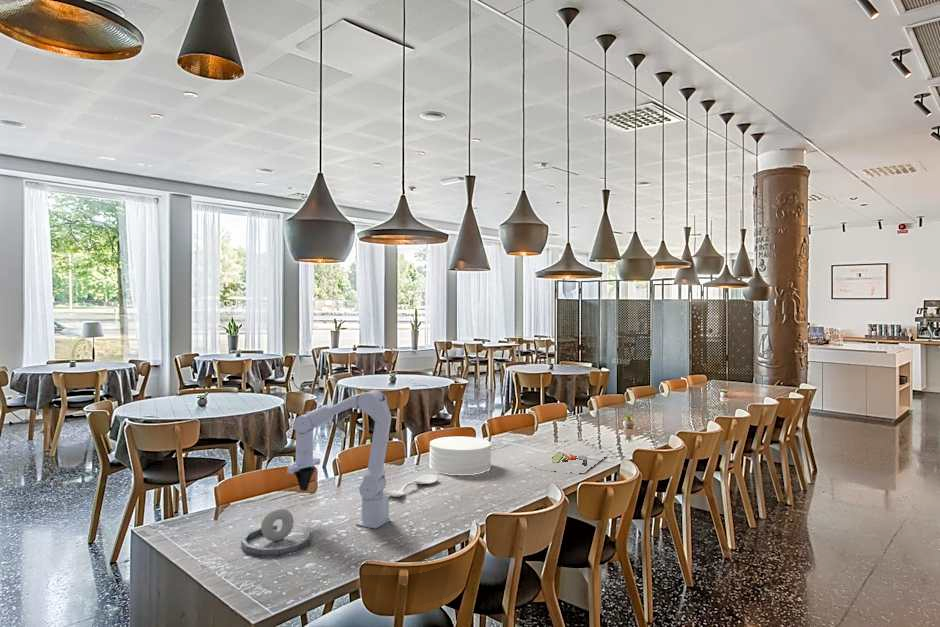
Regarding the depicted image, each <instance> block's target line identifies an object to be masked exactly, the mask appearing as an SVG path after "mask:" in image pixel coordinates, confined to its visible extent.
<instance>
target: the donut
mask: <svg viewBox="0 0 940 627" xmlns="http://www.w3.org/2000/svg"><path fill="white" fill-rule="evenodd" d="M277 520H281V522H282V524H281V526H280V527H279V528H277V530H274V529H273V525H274V523H275V522H276V521H277ZM294 520H295V519H294V516H293V514H292V513H291V511H290V510H288V509H287V508H284V507H277V508H273V509H271V510H270V511H268V512H267V513H266V514H265V516H264V517H263V520H262V522H261V527H260V528H261V530H262V534H263V535H262V536H263V537H264V538H265V539H266V540H268V541H271V542H279V541H282V540H284V539H285V538H286V537H288V536H289V534H290V533H291V532H292V530H293V528H294V522H295V521H294Z"/></svg>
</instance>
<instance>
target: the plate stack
mask: <svg viewBox="0 0 940 627" xmlns="http://www.w3.org/2000/svg"><path fill="white" fill-rule="evenodd" d="M491 447H492V442H491V441H489V440H487V439H484V438H482V437H481V438H480V437H474V436H462V435H461V436H444V437H438V438H435V439H432V440H430V441H429V455H428V456H429V460H428V461H429V466H428V467H430V468H431V469H433V470H435V471H437V472H442V473H448V474H474V473H480V472H483V471H486V470H488V469H489V468H490V467H491V468H492V465H491V464H492V463H491V462H492V460H491V459H492V448H491Z"/></svg>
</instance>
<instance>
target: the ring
mask: <svg viewBox="0 0 940 627" xmlns="http://www.w3.org/2000/svg"><path fill="white" fill-rule="evenodd" d="M273 529H274V530H278V525H277V524H273ZM260 536H264V535H263V534H262V530H261V527H258V528H256V529H254V530H251V531H250V532H249V531H248V532H247V533H245V535H244V536H243V537H242V539H241V543H240V544H241V548H242V550H243V549H244V550H243V551H244V553H245V554H248V553H249V554H248V555H251V556H256V557H261V558H262V557H263V556H267V557H282V555H283V556H286V554H287V555H290V554H289V553H292V554H294V553H293V552H296V553H298V552H297V551H299V552H301V551H303V550H305V549H306V547H307V548H308V547H310V546H311V545H312V542H313V540H314V532H309V534H308V535H307V538H305V539H304V540H301V541H299V542H298V543H296V544H290V545H287V546H286V545H285V546H283V547H281V546H280V547H259V546H253V545H250V544H249V542H250V541H251V540H254V539H256V538H258V537H260ZM312 539H313V540H312ZM248 541H249V542H248ZM304 548H305V549H304ZM302 549H303V550H302ZM300 550H301V551H300Z"/></svg>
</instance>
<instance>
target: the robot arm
mask: <svg viewBox="0 0 940 627" xmlns="http://www.w3.org/2000/svg"><path fill="white" fill-rule="evenodd" d="M352 408H353V409H354V410H358V409H360V411H362V412H363V413H365V414H366V415H368V416H369V417H370V418H371V419H372V420H373V421H374V426H373V434H372V438H371V439H372V440H371V445H370V452H369V458H368V464H367V469H366V471H365V473H364V476H363V481H362V482H361V483H360V485H359V494H360V496H361V519H360V520H359V521H357V522H356V523H355V525H357V526H362V527H366V528H372V529H378V528H379V527H381V526H383V525H385V524H387V523H389V521H391V520H392V518H391V517H390V499H389V497H388V495H386V494H384V493H383V491H384V489H385V488H386V486H387V481H386V476H385V475H386V470H385V469H384V467H385V460H386V455H387V448H388V444H389V443H388V440H389V434H390V428H391V424H392V413H391V410H390V408H389V404H388V399H387V396H386V395H385V394H384V393H383V392H382V391H381V390H380V389H372V390H369V391H365V392H362V393H359V394H354V395H352V396H349V397H348V398H345V399H344V400H342V401H340V402H338V403H335V404H333V405H332V406H330V405H327V404H324V405H323V404H319V405H318V406H317V408H315V409H313V410H311V411H310V410H307V411H306V412H305V413H304V414H303V415H299V416H297V417H296V418H295V419H294V420H293V421H292V422H293V423H292V427H293V429H294V431H295V461H293V464H292V465H290V466H287V468H286V469H287V471H286V473H287V474H290V475H292V474H294V475H295V477H296V479H297V482H298V485H299V490H300V491H307V490H308V488H309V485H310V481H311V478H312V476H313V474H314V472H315V470H316V469H315V467H314V466H316V465H320V464H321V458H319V457H315V458H314V429H315V428H318V427H320V426H323V425H324V424H327V423H329V422H331V421H333V419H334V417H335V416H336V415H337V414H340V413H342V412H344V411H347V410H349V409H352Z"/></svg>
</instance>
